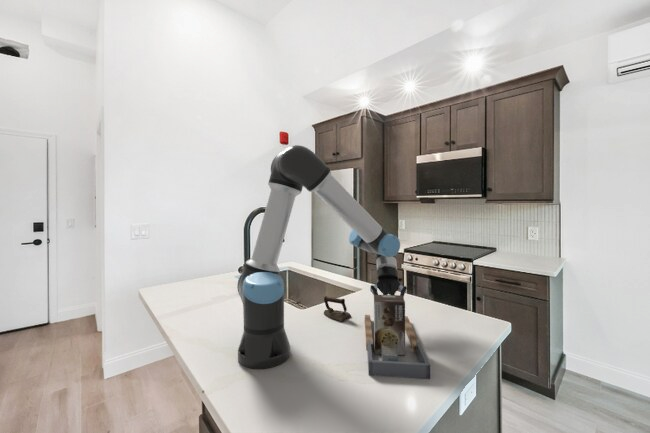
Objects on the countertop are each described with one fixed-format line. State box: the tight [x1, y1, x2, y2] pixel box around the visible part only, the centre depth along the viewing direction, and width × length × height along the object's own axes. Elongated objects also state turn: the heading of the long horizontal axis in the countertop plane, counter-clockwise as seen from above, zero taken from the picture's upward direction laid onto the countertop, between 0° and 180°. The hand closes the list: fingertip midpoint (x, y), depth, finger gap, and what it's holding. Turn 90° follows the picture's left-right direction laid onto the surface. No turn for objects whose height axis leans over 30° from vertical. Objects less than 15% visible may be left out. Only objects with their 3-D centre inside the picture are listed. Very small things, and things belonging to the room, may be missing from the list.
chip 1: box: [380, 341, 396, 361], centre depth 86 cm, size 4×4×4 cm
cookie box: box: [373, 294, 406, 356], centre depth 91 cm, size 9×6×16 cm
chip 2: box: [381, 348, 399, 362], centre depth 82 cm, size 4×4×4 cm
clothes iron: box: [323, 295, 352, 323], centre depth 118 cm, size 7×11×10 cm, turn 55°
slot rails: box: [364, 314, 419, 354], centre depth 102 cm, size 24×16×2 cm, turn 174°
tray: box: [366, 339, 431, 380], centre depth 83 cm, size 13×16×4 cm
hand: (391, 334), depth 95 cm, fingers closed
